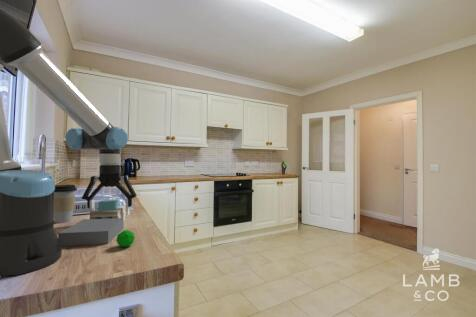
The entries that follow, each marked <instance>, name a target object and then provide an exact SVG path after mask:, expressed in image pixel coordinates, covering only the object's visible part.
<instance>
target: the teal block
mask: <svg viewBox="0 0 476 317" xmlns="http://www.w3.org/2000/svg"><path fill="white" fill-rule="evenodd" d="M120 200H121V199H120V198H107V199H106V198H105V199H102V200H99V201H98V208H99V211H103V210H116V209H117V208H119V207H120V206H121V205H120V203H121V201H120Z"/></svg>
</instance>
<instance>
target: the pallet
mask: <svg viewBox="0 0 476 317" xmlns="http://www.w3.org/2000/svg"><path fill="white" fill-rule="evenodd" d="M111 218H124V220H125V219H126V220H127V215H126V205H120V207H119V208H117V209H116V210H103V211H99V207H98V208H95V210H94V211H92V212H90V211H89V219H111ZM126 220H125V221H126Z"/></svg>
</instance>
